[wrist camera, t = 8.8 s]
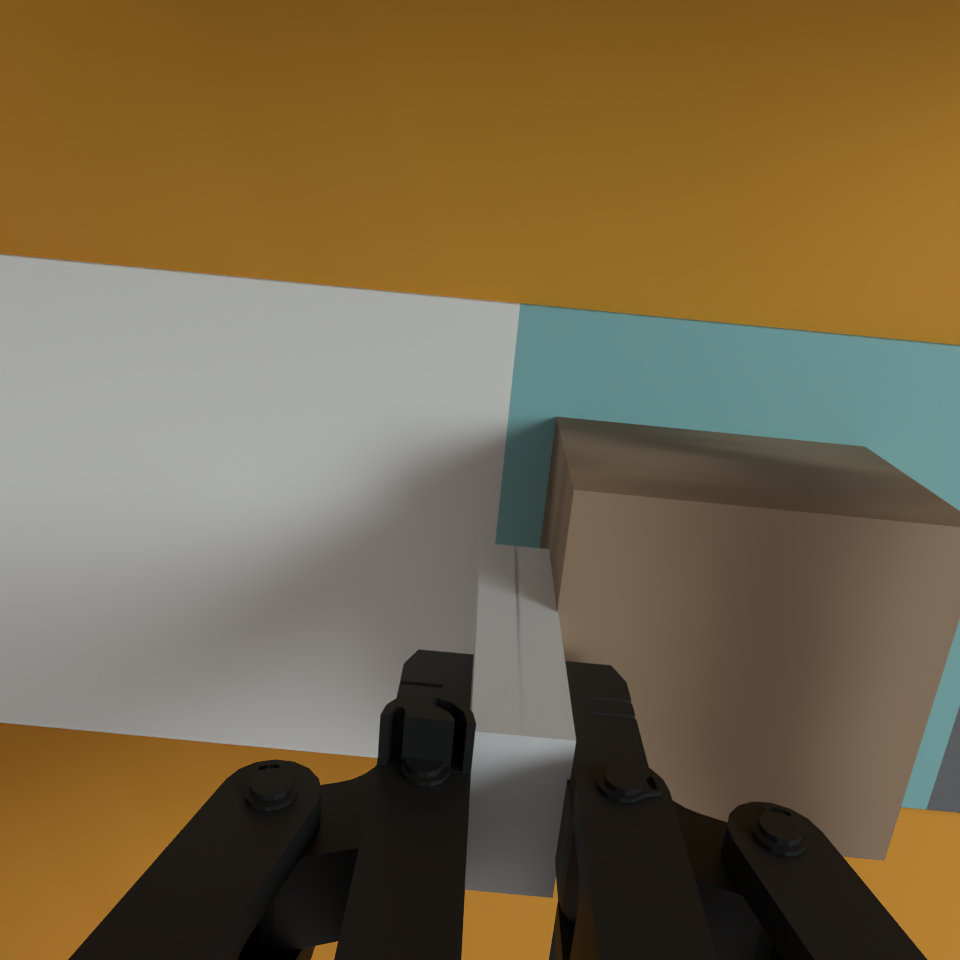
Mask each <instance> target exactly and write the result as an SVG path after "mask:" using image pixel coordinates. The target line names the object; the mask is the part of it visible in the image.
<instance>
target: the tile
mask: <svg viewBox="0 0 960 960" xmlns="http://www.w3.org/2000/svg"><path fill="white" fill-rule="evenodd" d="M519 310H520V303H512V302H501V301H491V300H480V299H470V298H459V297H449V296H438V295H428V294H417V293H407V292H396V291H386V290H375V289H365V288H354V287H344V286H333V285H323V284H312V283H302V282H291V281H281V280H270V279H260V278H249V277H239V276H229V275H218V274H208V273H197V272H187V271H176V270H166V269H155V268H145V267H134V266H124V265H113V264H103V263H92V262H82V261H71V260H61V259H50V258H40V257H29V256H19V255H8V254H0V723H10V724H21V725H32V726H42V727H53V728H64V729H74V730H85V731H95V732H106V733H117V734H127V735H138V736H149V737H159V738H170V739H181V740H191V741H202V742H213V743H223V744H234V745H245V746H255V747H266V748H277V749H287V750H298V751H309V752H319V753H330V754H341V755H351V756H362V757H373V758H378V744H379V728H380V714H381V713H382V711H383V709H384V708H385V706H386V704H388V703H389V702H391V701H393V700H394V699H396V698H397V693H398V688H399V684H400V679H401V674H402V669H403V665H404V663H405V662H406V661H407V660H408V659H409V658H410V657H411V656H412V655H413V654H414V653H415V652H416V651H417V650H418V649H420V650H431V651H442V652H453V653H463V654H471V644H472V634H473V624H474V614H475V604H476V594H477V584H478V574H479V564H480V554H481V543H489V544H495V540H496V530H497V521H498V511H499V502H500V492H501V482H502V473H503V463H504V454H505V444H506V435H507V425H508V416H509V406H510V396H511V387H512V377H513V368H514V358H515V349H516V339H517V330H518V320H519Z"/></svg>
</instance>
